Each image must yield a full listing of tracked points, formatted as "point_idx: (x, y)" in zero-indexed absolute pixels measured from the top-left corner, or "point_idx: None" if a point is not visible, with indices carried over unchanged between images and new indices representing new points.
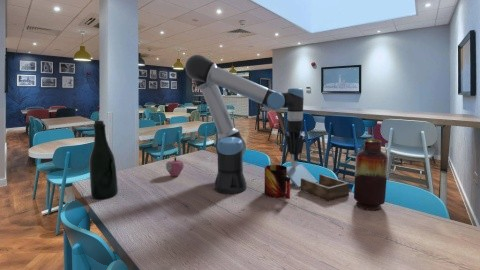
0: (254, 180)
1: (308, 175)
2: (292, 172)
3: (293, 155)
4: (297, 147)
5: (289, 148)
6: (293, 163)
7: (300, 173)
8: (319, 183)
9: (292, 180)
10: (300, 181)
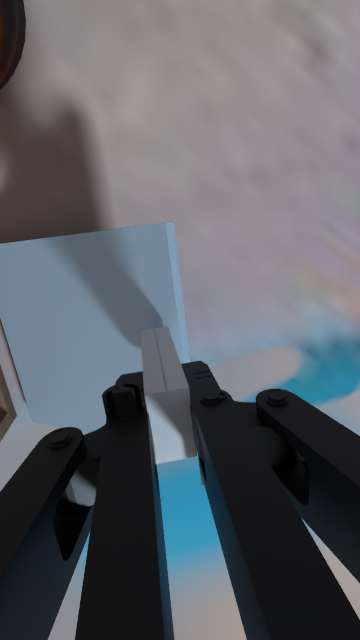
0: (290, 40)
1: (79, 404)
2: (105, 293)
3: (144, 390)
4: (13, 539)
5: (285, 437)
6: (141, 347)
7: (96, 358)
8: (2, 413)
9: (34, 239)
10: (21, 298)
